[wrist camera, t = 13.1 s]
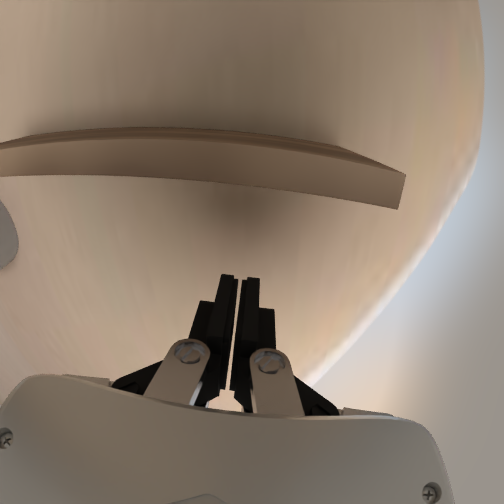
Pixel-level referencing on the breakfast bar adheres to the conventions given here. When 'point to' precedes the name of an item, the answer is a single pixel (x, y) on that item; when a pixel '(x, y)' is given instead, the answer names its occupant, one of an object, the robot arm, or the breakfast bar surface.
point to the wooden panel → (207, 160)
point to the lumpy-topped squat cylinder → (7, 237)
